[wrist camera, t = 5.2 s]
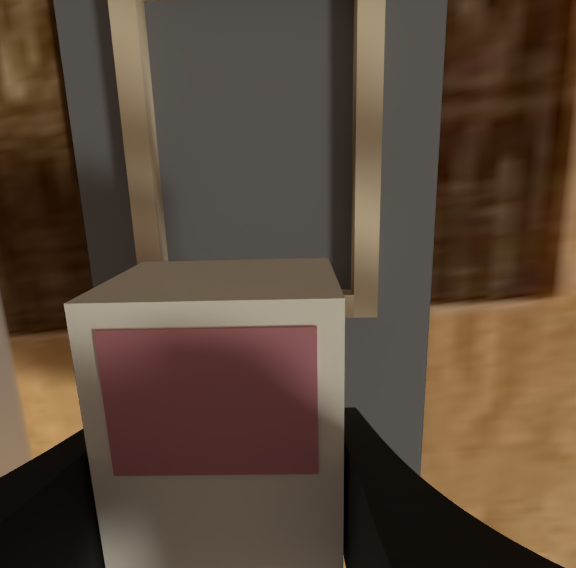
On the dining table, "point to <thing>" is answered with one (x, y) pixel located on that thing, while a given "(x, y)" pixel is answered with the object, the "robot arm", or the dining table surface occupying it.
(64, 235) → the dining table surface
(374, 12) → the frame
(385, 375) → the mat
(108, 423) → the card box
